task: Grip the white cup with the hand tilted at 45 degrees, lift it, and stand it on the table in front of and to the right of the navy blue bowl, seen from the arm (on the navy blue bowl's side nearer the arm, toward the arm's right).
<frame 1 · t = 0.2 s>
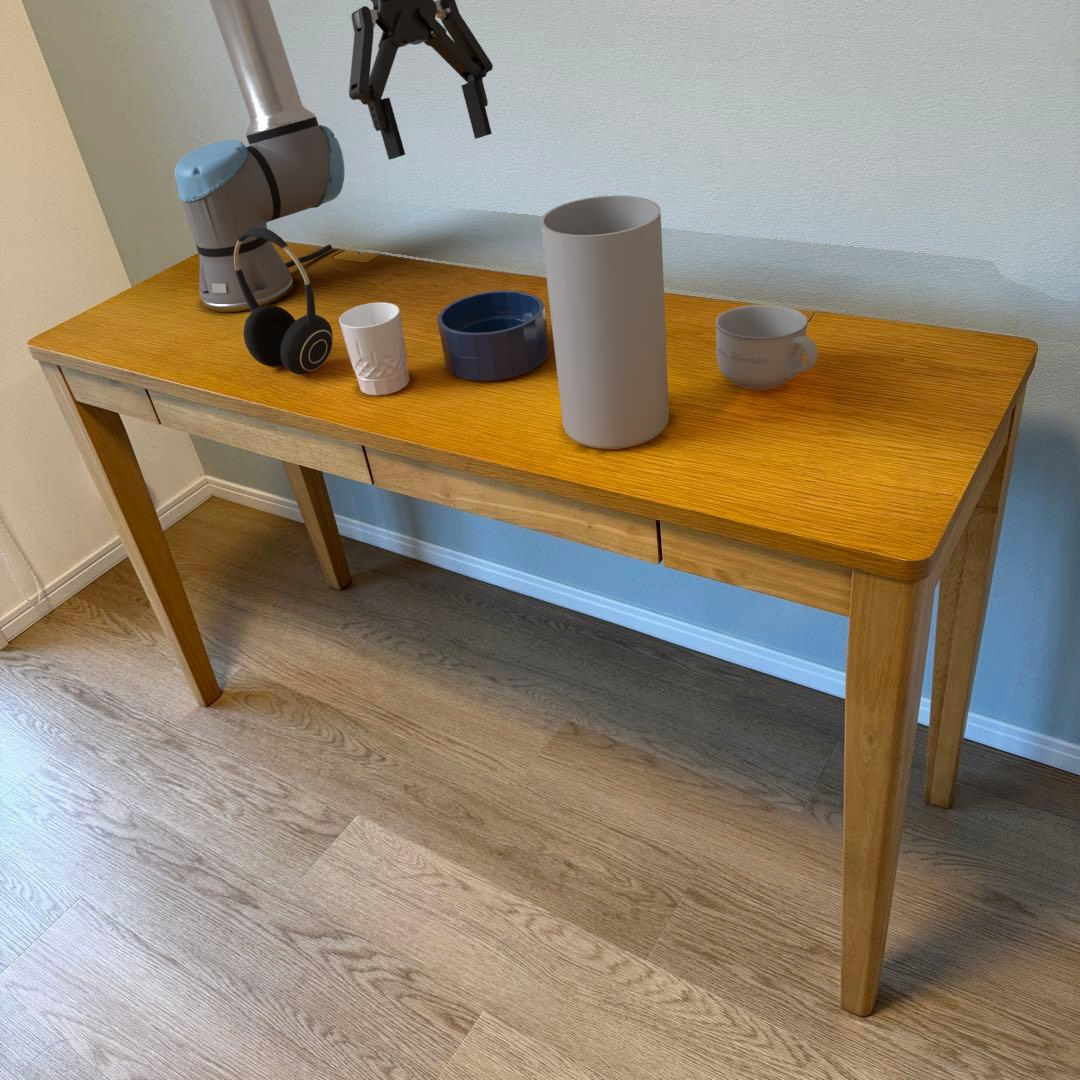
hand: (441, 146, 125), 27 cm above the table, tool tilted 15°, fingers open, 13 cm apart
cylinder vase: (616, 426, 119), on the table
white cup: (385, 385, 134), on the table
navy blue bowl: (497, 359, 137), on the table
teacup: (767, 385, 123), on the table
headphones: (297, 369, 142), on the table
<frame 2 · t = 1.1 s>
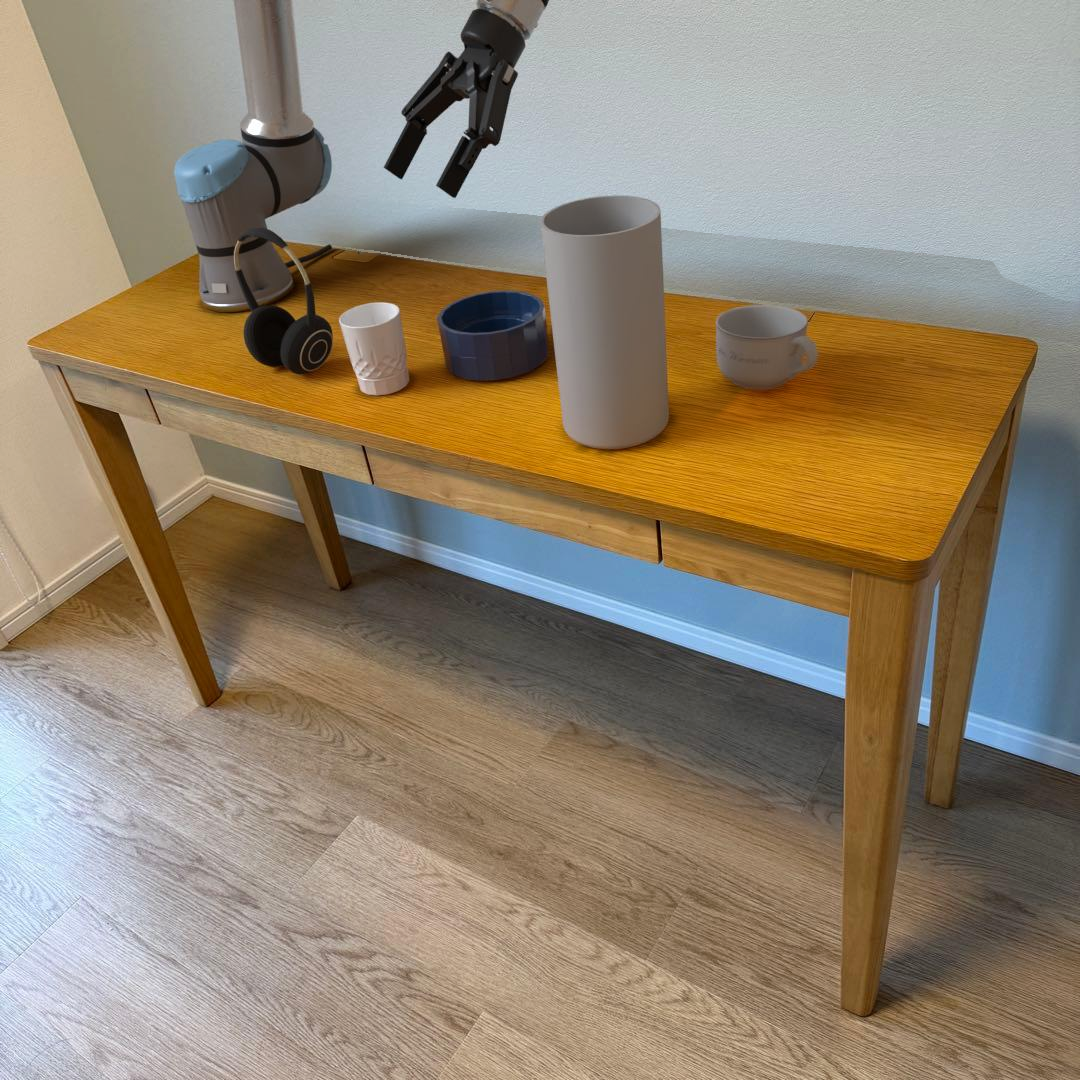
hand: (417, 182, 125), 24 cm above the table, tool tilted 45°, fingers open, 13 cm apart
nothing on the table moved.
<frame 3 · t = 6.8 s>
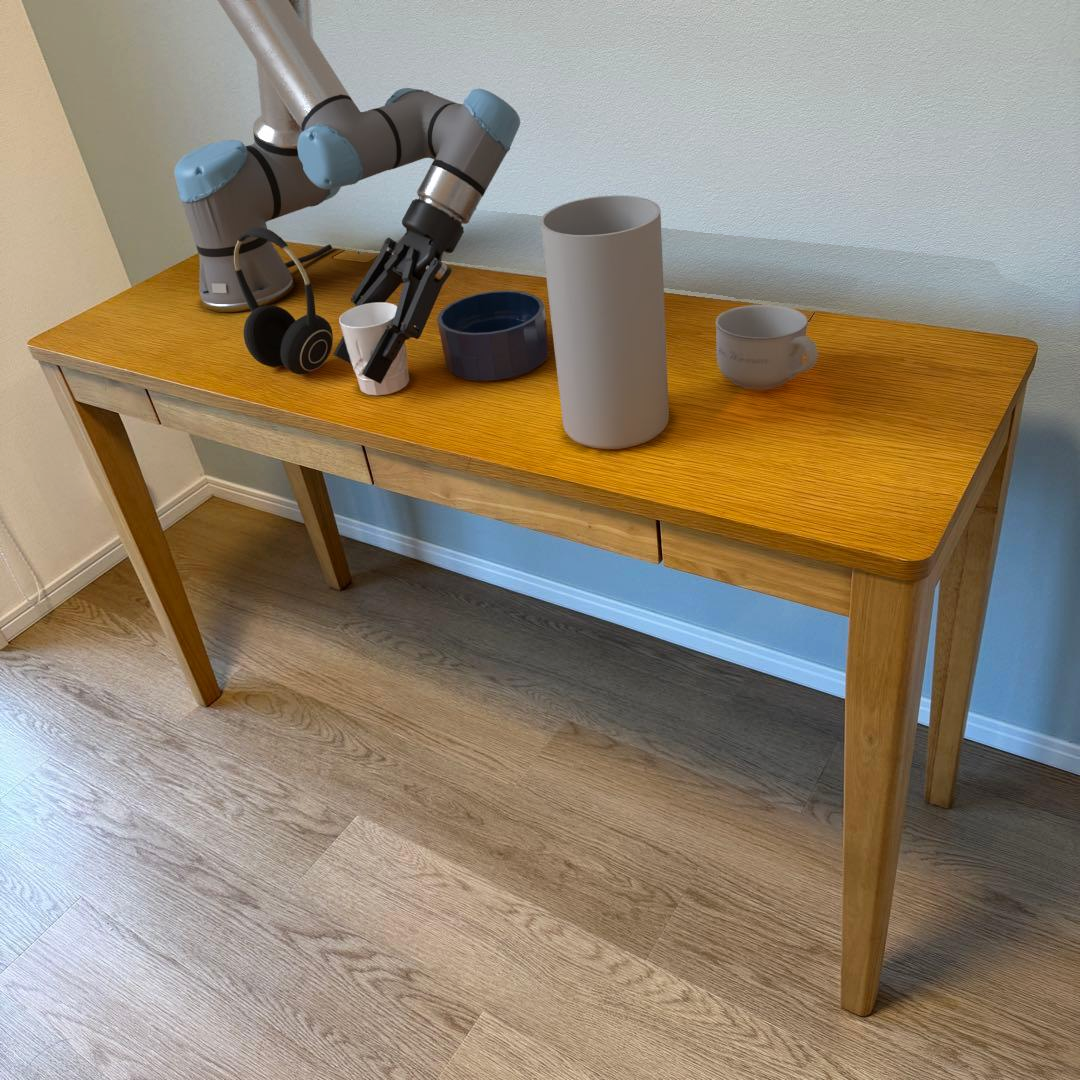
hand: (356, 368, 131), 4 cm above the table, tool tilted 45°, fingers closed on white cup, 8 cm apart
white cup: (385, 385, 134), on the table, touching gripper
everything else where it was.
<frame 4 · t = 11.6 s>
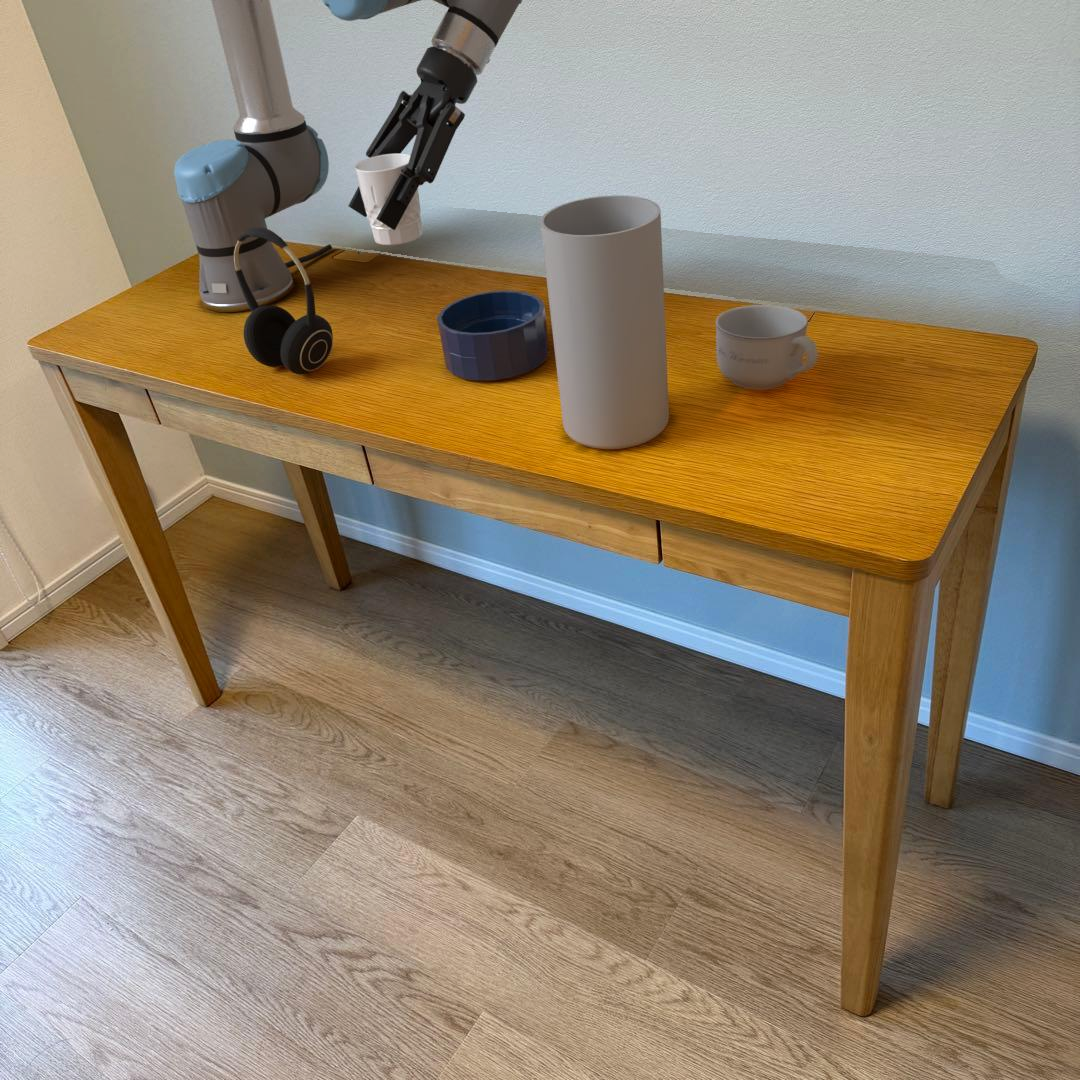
hand: (371, 217, 134), 18 cm above the table, tool tilted 45°, fingers closed on white cup, 8 cm apart
white cup: (398, 238, 137), point 15 cm above the table, touching gripper
everything else where it was.
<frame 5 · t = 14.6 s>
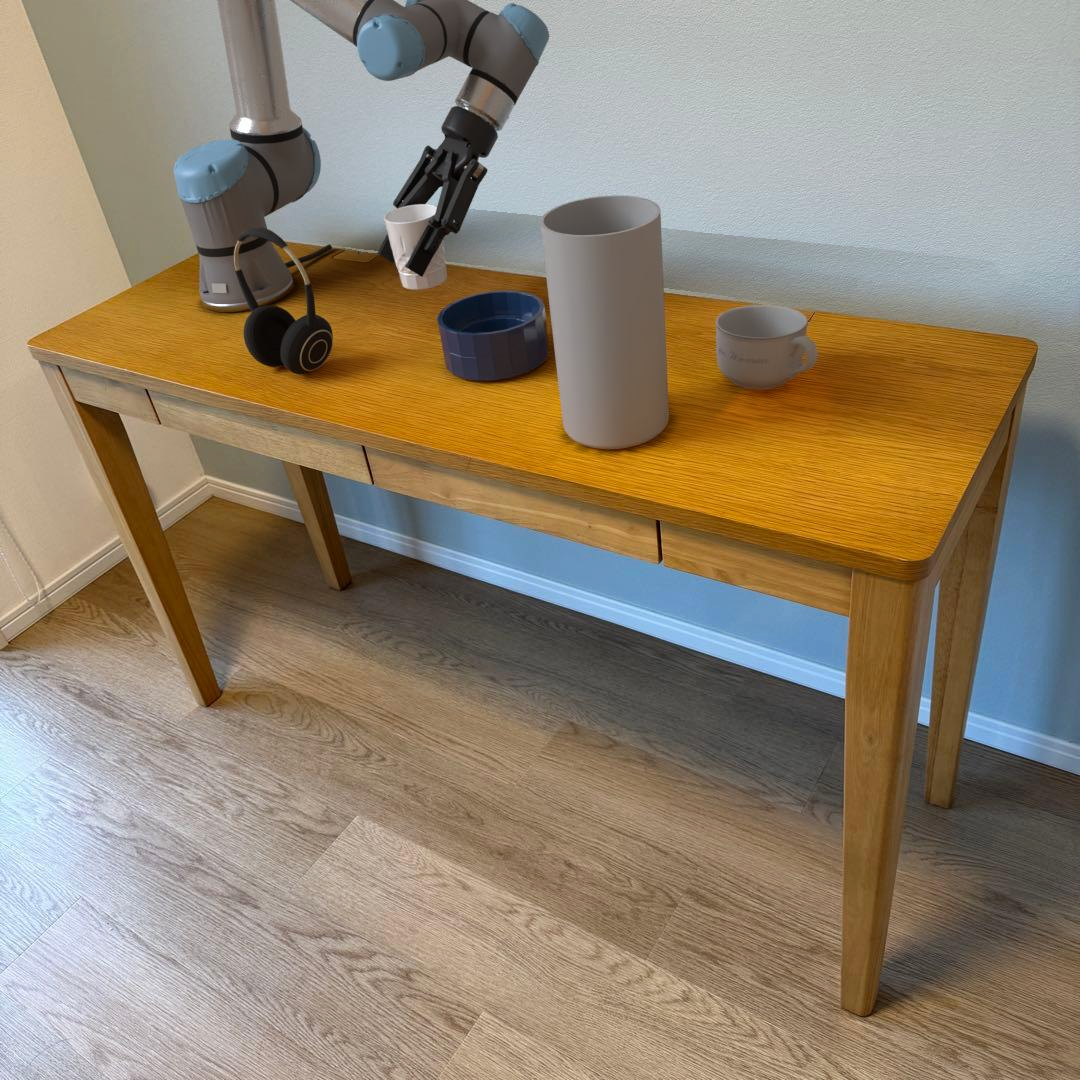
hand: (399, 264, 143), 10 cm above the table, tool tilted 45°, fingers closed on white cup, 8 cm apart
white cup: (424, 282, 146), point 6 cm above the table, touching gripper
everything else where it was.
when the fingers open (4 cm above the table, at t = 16.8 s): white cup stays where it is, on the table.
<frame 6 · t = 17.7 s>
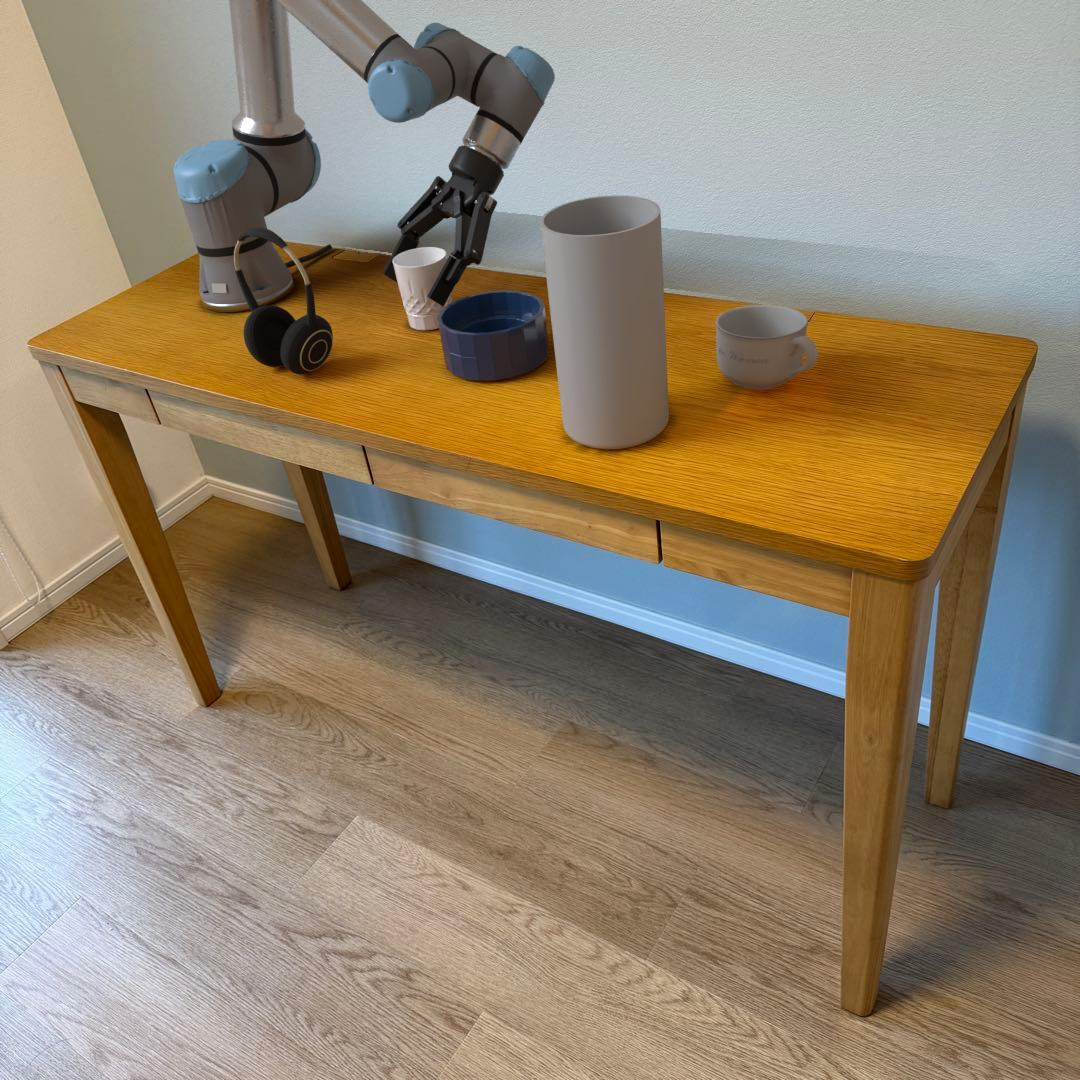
hand: (411, 289, 146), 6 cm above the table, tool tilted 45°, fingers open, 13 cm apart
white cup: (431, 322, 150), on the table
everything else where it was.
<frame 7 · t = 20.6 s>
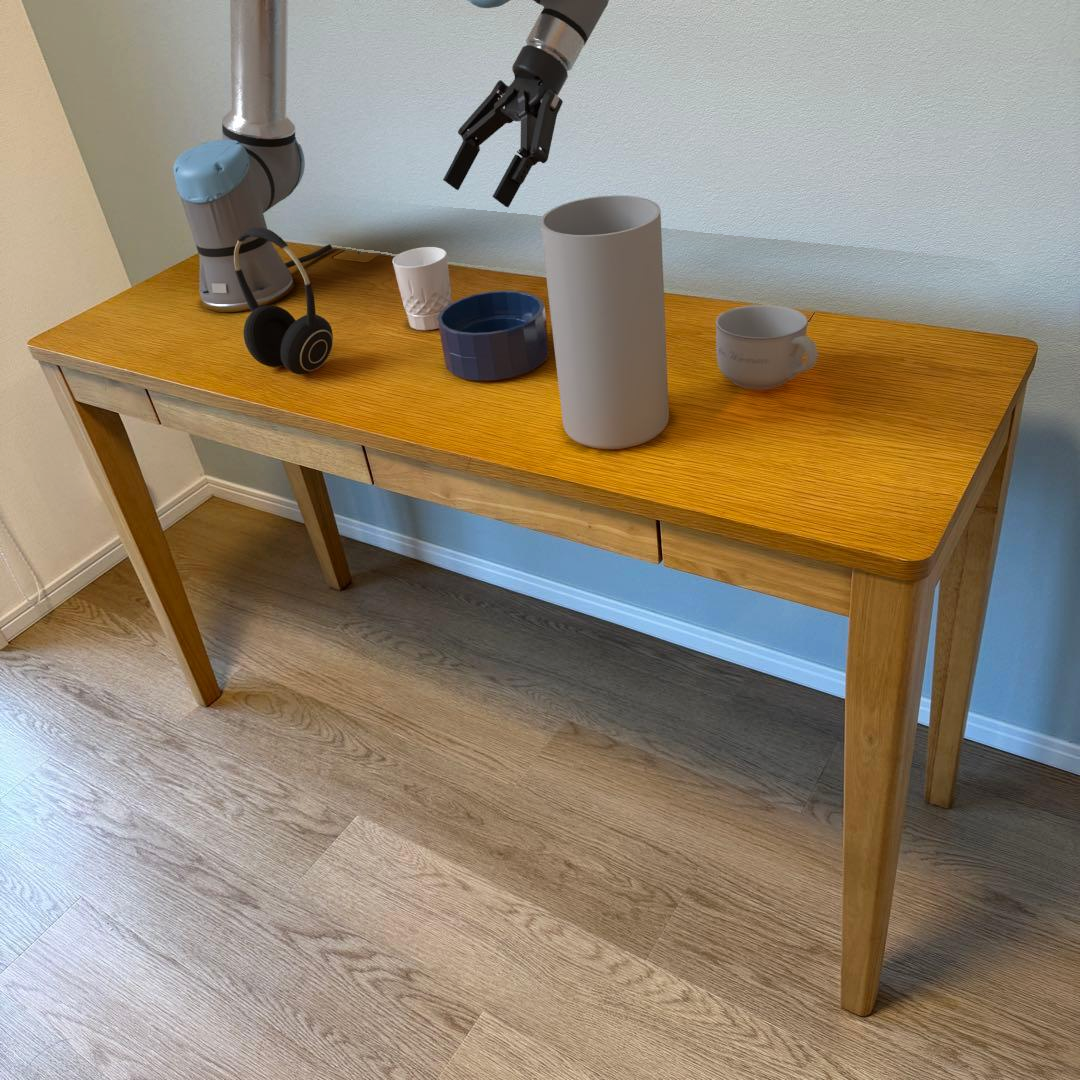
hand: (474, 193, 145), 16 cm above the table, tool tilted 45°, fingers open, 13 cm apart
nothing on the table moved.
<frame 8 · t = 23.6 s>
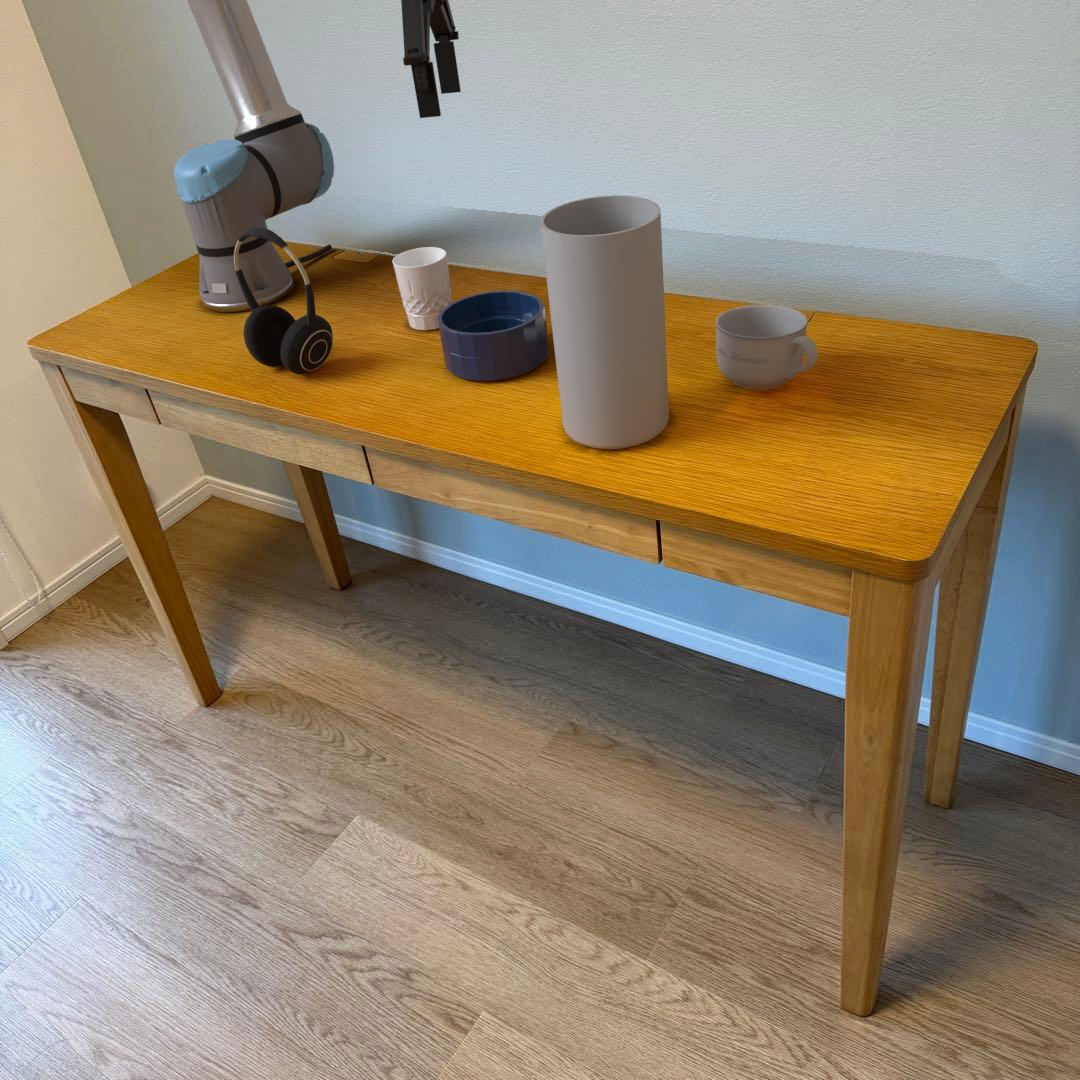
hand: (441, 104, 138), 29 cm above the table, tool pointing down, fingers open, 13 cm apart
nothing on the table moved.
at the end: white cup inside the target area on the table beside the navy blue bowl (2.2 cm from its centre), on the table; white cup tilted 0°; the gripper is holding nothing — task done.
